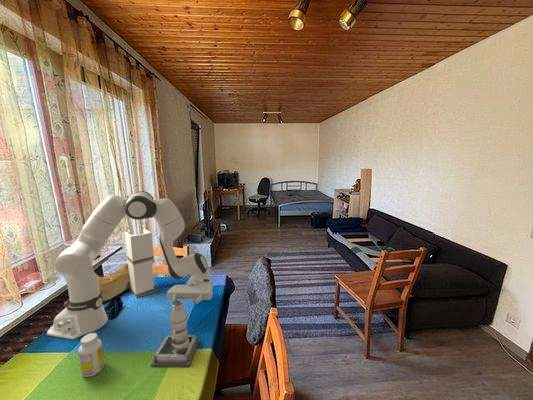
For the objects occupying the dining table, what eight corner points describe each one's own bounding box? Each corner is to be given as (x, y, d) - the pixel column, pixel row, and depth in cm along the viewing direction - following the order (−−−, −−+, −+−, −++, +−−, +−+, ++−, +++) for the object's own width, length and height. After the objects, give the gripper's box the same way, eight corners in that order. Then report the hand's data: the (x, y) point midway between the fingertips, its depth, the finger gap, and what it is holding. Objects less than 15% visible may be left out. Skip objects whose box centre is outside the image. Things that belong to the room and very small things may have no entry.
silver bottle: (184, 359, 88) (180, 309, 86) (168, 355, 90) (164, 306, 87) (193, 346, 95) (190, 299, 92) (178, 343, 96) (175, 297, 93)
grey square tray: (150, 366, 86) (150, 358, 86) (166, 340, 99) (165, 333, 99) (189, 367, 86) (188, 358, 85) (199, 340, 99) (199, 333, 98)
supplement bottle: (101, 359, 90) (97, 328, 88) (107, 368, 86) (103, 336, 84) (79, 371, 85) (74, 338, 83) (84, 381, 81) (80, 347, 79)
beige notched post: (156, 291, 138) (151, 232, 133) (136, 298, 131) (130, 236, 126) (149, 284, 147) (145, 228, 141) (130, 290, 139) (124, 232, 134)
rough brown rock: (126, 281, 152) (122, 259, 150) (140, 286, 142) (136, 262, 141) (83, 300, 132) (78, 275, 130) (97, 307, 123) (91, 280, 121)
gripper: (173, 279, 116) (160, 295, 103) (215, 280, 116) (207, 295, 102) (174, 291, 117) (161, 308, 104) (215, 292, 117) (208, 309, 103)
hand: (184, 302), depth 103 cm, fingers open, 8 cm apart
